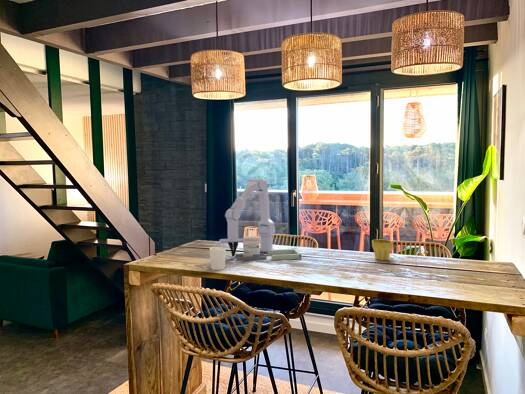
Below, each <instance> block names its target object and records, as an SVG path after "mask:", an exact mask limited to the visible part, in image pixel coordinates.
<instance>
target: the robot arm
mask: <svg viewBox="0 0 525 394" xmlns="http://www.w3.org/2000/svg"><path fill="white" fill-rule="evenodd" d="M253 192H256V193H257V194H258V200H259V201H258V202H259V214H260V215H259V216H260V220H259V221H258V222H257V230H256V231H257V233H258V236H259V245H260V253H268V250H274V247H273V246H274V245H273V241H274V240H273V236H275V235H274V234H276V226H275V222H274V221H273V220H271V217H270V216H271V215H270V214H271V213H270V201H269V189H268V181H267V180H266V179H265V178H253V177H251V178H249V179H248V180H247V182H246V187H245V189H244V190H243V191H242V194H241V196H240V197H238V198H235V200H234V202H233V203H232V205H231V206H230V208H228V209H227V210H226V211H225V214H224V218H225V219H226V222H227V238H221V239H219V244H228V246H229V249H230V253H231V256H232V257H235V254H236V252H237V249H238V246H239V243H240V244H242V243H243V241H244V239H243V237H242V238H239V219H240V218H241V215H242V210H243V209H244V208H245V206H246V204H247V200H248V198H249V197H250V196H251V195H252V194H253Z"/></svg>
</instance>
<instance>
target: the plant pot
mask: <svg viewBox="0 0 525 394" xmlns="http://www.w3.org/2000/svg"><path fill="white" fill-rule="evenodd" d="M371 247H372V249H373V253H374V259H375V260H377V259H378V260H377V261H388V260H389V257H390V255H391V249H392V248H393V241H392V240H389V239H379V238H378V239H372V240H371ZM387 259H388V260H387Z"/></svg>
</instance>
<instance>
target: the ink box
mask: <svg viewBox="0 0 525 394" xmlns="http://www.w3.org/2000/svg"><path fill="white" fill-rule="evenodd" d="M242 238H243V239H244V241H243V242H242V243H243V244H242V245H243V246H242V248H243V250H242V251H243V252H242V254H243V257H254V256H260V253H261V251H260V235H256V236H254V235H253V236H252V235H250V236H249V235H248V236H247V235H244V236H243V237H242Z"/></svg>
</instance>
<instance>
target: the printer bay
mask: <svg viewBox="0 0 525 394" xmlns="http://www.w3.org/2000/svg"><path fill="white" fill-rule="evenodd" d="M267 256H268V255H267ZM267 256H266V255H265V252H260V256H254V257H243V253H235V256H234V257H235V258H236V261H253V260H254V261H255V260H267Z"/></svg>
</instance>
